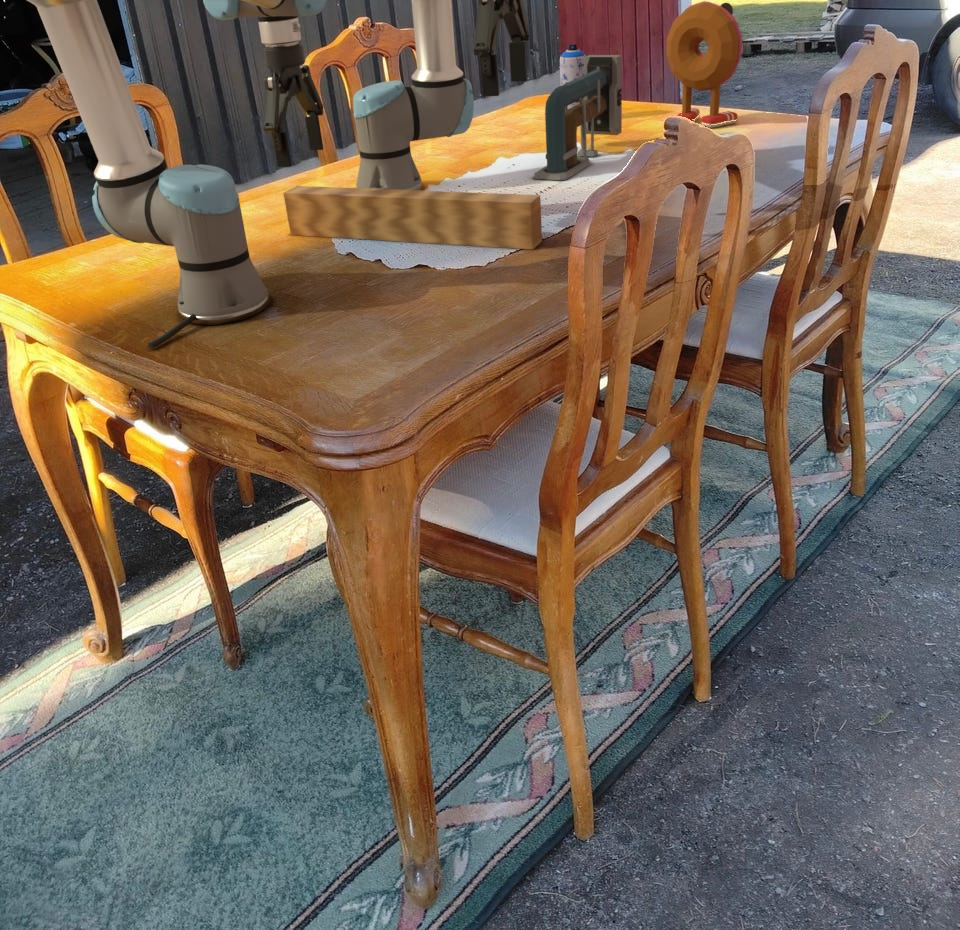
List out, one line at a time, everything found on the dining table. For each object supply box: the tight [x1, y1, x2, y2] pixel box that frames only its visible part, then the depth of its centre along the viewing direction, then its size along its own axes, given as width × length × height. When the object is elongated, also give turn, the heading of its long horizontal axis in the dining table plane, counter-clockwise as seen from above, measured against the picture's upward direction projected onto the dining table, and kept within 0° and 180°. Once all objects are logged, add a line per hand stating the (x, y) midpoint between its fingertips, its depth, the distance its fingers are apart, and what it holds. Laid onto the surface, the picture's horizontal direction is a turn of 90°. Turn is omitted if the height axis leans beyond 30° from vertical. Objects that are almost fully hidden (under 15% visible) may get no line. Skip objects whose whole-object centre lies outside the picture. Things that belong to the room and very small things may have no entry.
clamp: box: [532, 54, 623, 181], centre depth 230 cm, size 35×9×21 cm, turn 151°
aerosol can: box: [559, 43, 587, 109], centre depth 273 cm, size 8×8×20 cm
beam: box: [282, 185, 543, 250], centre depth 191 cm, size 54×5×9 cm, turn 67°
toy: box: [665, 0, 743, 129], centre depth 253 cm, size 21×10×30 cm, turn 47°
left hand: (301, 158), depth 194 cm, fingers open, 13 cm apart
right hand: (505, 88), depth 171 cm, fingers open, 13 cm apart
